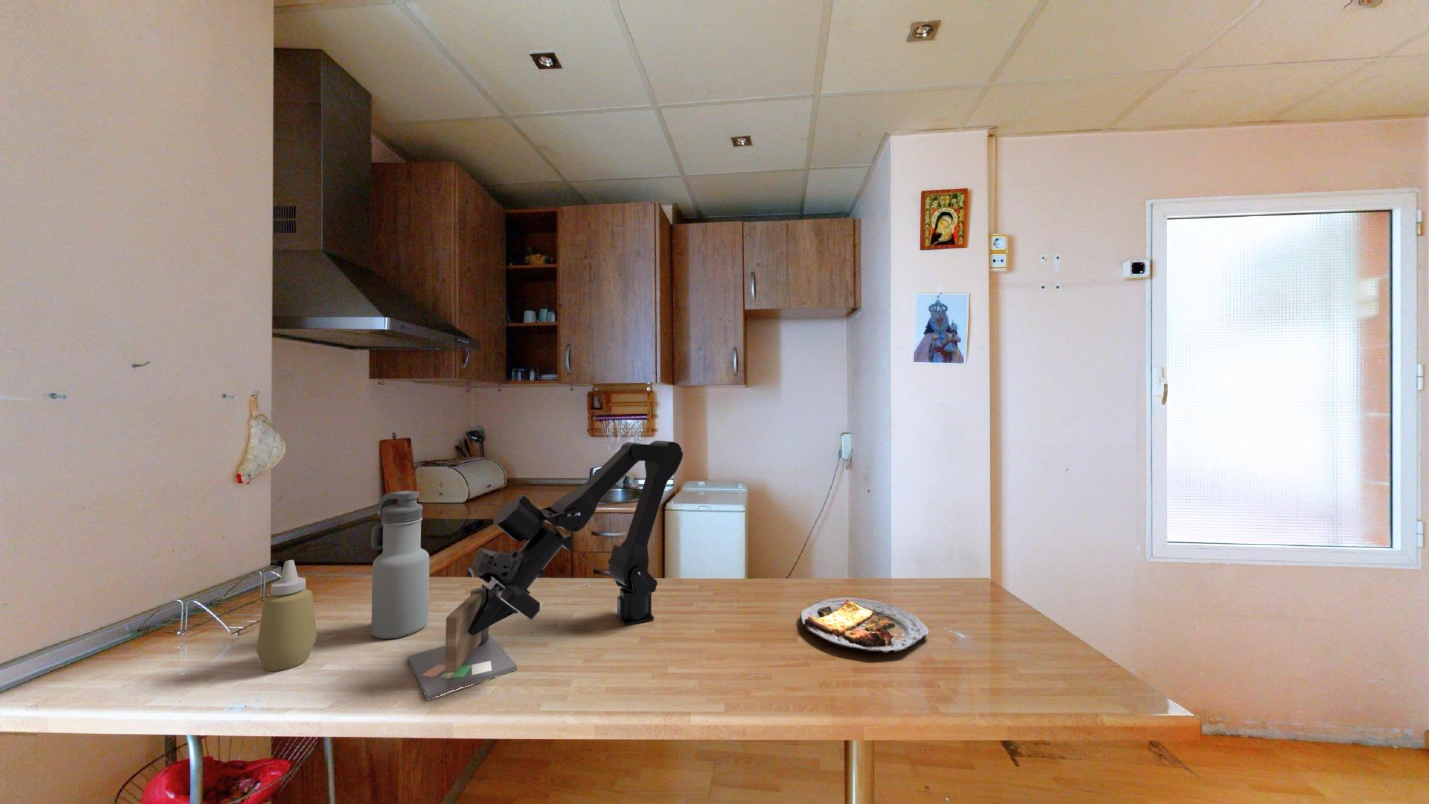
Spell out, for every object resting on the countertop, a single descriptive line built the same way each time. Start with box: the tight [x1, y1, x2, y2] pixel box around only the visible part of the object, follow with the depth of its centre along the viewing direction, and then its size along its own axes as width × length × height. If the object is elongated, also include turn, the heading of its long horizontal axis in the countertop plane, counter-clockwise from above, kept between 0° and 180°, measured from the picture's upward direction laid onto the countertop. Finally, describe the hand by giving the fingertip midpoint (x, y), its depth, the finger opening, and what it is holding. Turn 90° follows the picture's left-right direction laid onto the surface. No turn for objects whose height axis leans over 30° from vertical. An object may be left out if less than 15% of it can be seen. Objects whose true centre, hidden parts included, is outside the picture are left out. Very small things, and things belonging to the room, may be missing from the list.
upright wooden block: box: [445, 587, 490, 679], centre depth 85 cm, size 15×3×9 cm, turn 5°
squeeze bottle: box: [255, 559, 318, 672], centre depth 85 cm, size 8×8×18 cm
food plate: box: [799, 597, 929, 655], centre depth 99 cm, size 25×23×4 cm
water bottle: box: [370, 490, 430, 640], centre depth 98 cm, size 10×10×28 cm
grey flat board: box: [407, 633, 518, 700], centre depth 84 cm, size 16×14×1 cm
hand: (470, 633), depth 82 cm, fingers closed
